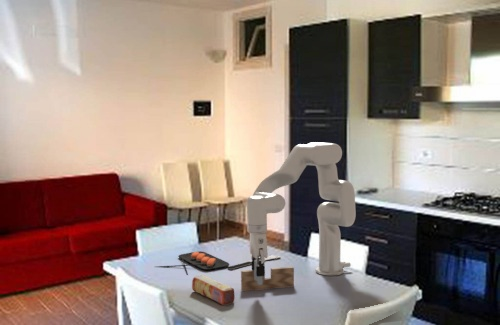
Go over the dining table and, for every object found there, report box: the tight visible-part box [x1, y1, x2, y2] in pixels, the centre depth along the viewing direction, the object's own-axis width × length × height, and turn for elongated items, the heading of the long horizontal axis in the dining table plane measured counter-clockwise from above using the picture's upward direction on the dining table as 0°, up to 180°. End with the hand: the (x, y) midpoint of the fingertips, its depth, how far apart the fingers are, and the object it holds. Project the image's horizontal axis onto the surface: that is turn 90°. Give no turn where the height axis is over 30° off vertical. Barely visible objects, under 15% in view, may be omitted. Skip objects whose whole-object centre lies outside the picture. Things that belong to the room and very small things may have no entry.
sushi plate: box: [155, 250, 230, 276], centre depth 250 cm, size 29×30×4 cm
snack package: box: [191, 274, 236, 306], centre depth 207 cm, size 21×7×7 cm, turn 39°
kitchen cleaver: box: [227, 254, 281, 271], centre depth 254 cm, size 31×2×10 cm
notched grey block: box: [254, 260, 263, 285], centre depth 205 cm, size 6×2×8 cm, turn 14°
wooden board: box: [240, 266, 295, 292], centre depth 216 cm, size 22×2×8 cm, turn 104°
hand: (258, 272), depth 205 cm, fingers closed on notched grey block, 6 cm apart
